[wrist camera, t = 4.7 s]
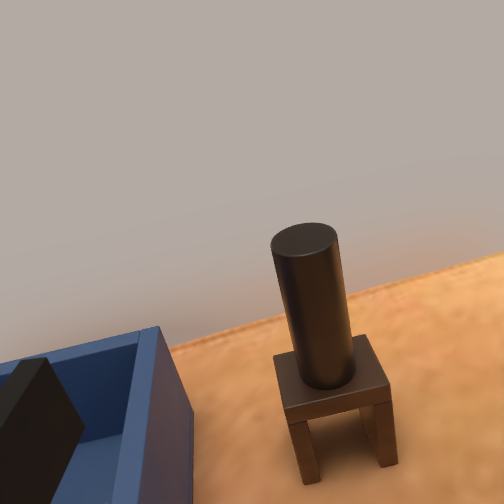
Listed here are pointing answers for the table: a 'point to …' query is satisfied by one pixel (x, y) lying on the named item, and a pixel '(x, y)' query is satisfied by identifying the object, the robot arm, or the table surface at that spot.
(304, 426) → the peg on small stool
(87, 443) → the bin
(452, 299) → the table surface
